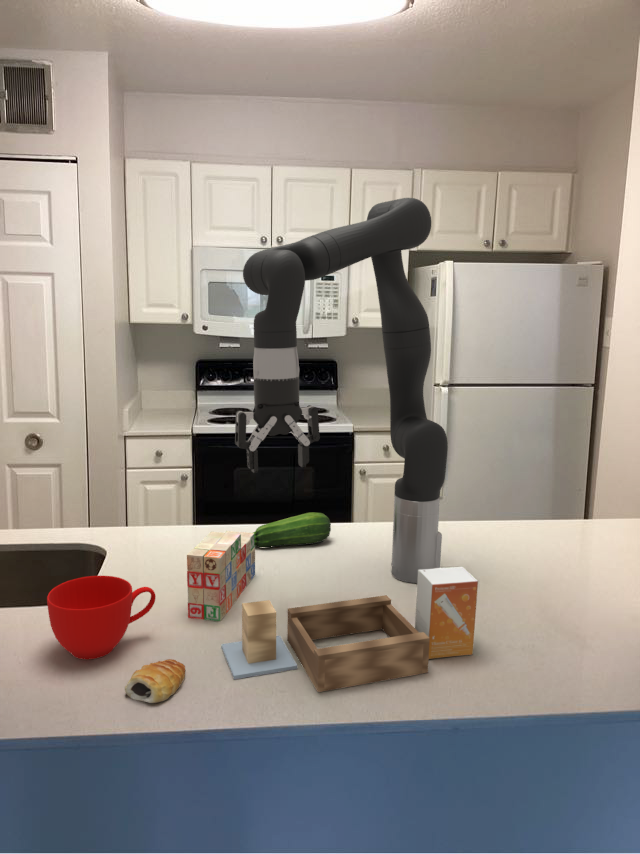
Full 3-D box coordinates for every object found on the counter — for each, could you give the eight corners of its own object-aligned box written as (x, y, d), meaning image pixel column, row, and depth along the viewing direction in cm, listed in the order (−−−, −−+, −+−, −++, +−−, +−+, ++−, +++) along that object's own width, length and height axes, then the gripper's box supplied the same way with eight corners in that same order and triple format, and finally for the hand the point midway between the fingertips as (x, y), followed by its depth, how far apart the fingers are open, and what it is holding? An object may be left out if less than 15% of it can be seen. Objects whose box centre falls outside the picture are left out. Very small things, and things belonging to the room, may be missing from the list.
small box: (427, 660, 110) (431, 584, 107) (413, 641, 116) (416, 568, 113) (474, 655, 112) (479, 580, 109) (458, 636, 118) (462, 565, 115)
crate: (385, 625, 121) (386, 595, 120) (427, 672, 106) (429, 638, 105) (287, 640, 115) (287, 608, 114) (317, 692, 100) (318, 655, 99)
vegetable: (331, 508, 160) (246, 516, 154) (335, 539, 158) (249, 548, 152) (323, 513, 166) (242, 520, 161) (327, 543, 165) (245, 551, 159)
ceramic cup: (167, 651, 111) (166, 594, 109) (57, 678, 103) (54, 616, 101) (145, 619, 122) (144, 566, 120) (44, 640, 114) (41, 584, 112)
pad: (280, 638, 116) (280, 635, 116) (297, 668, 107) (297, 665, 107) (221, 647, 113) (221, 644, 113) (233, 679, 103) (233, 675, 103)
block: (269, 645, 112) (269, 600, 111) (276, 659, 108) (276, 612, 107) (242, 649, 111) (242, 603, 109) (248, 663, 107) (247, 615, 105)
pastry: (161, 666, 107) (160, 644, 106) (197, 677, 104) (197, 654, 104) (121, 698, 99) (120, 674, 98) (159, 710, 96) (159, 685, 95)
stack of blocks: (227, 572, 143) (226, 516, 141) (255, 575, 142) (255, 518, 140) (187, 618, 123) (186, 553, 120) (220, 622, 122) (220, 556, 119)
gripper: (309, 369, 120) (310, 459, 123) (228, 374, 115) (232, 468, 118) (324, 374, 113) (325, 470, 116) (239, 379, 108) (243, 479, 111)
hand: (278, 468), depth 117 cm, fingers open, 8 cm apart
